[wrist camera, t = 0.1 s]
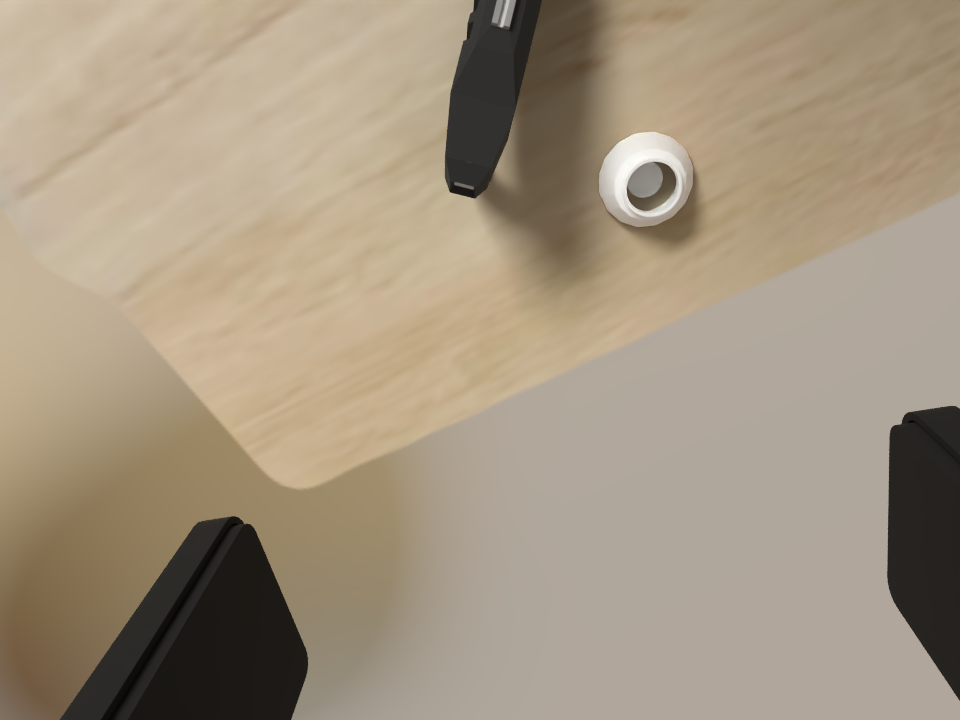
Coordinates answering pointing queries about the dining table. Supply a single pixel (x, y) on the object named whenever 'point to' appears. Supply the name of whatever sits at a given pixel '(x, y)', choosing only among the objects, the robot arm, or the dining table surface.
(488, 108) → the gun
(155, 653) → the robot arm
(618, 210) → the lidless jar
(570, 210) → the dining table surface
